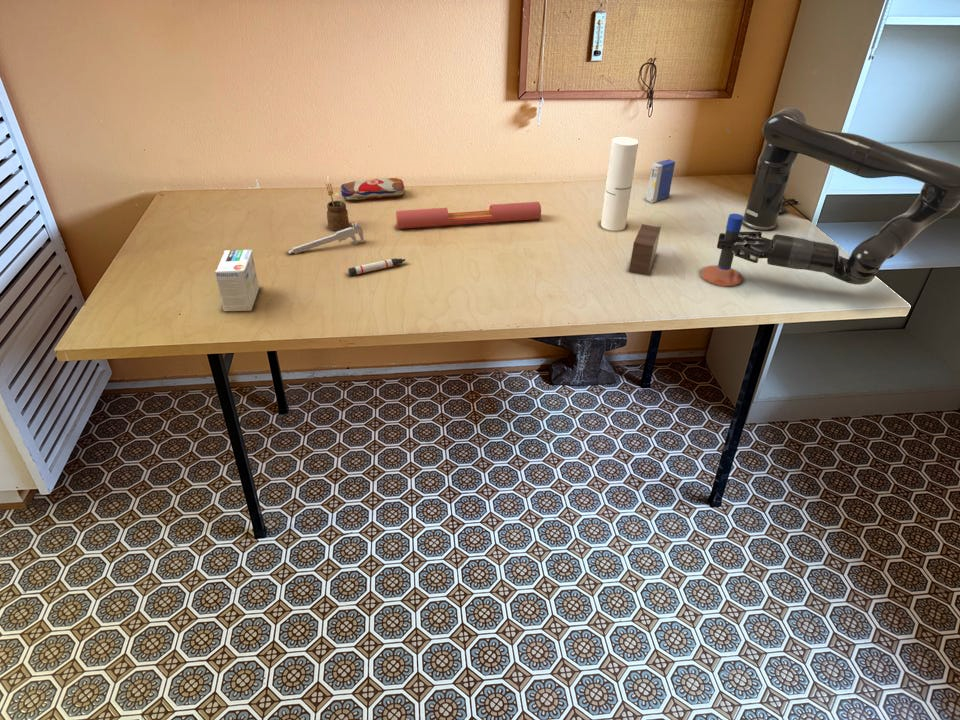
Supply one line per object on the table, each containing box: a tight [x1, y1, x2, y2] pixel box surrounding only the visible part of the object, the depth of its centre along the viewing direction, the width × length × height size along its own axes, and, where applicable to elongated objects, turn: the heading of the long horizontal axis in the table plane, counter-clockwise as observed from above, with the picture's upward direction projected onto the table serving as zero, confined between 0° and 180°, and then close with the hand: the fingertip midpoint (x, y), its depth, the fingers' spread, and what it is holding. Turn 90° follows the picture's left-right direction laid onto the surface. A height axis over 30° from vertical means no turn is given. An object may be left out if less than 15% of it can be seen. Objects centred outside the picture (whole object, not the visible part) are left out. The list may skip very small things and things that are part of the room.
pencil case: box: [339, 177, 406, 201], centre depth 218 cm, size 11×20×5 cm, turn 89°
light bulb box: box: [214, 249, 260, 312], centre depth 165 cm, size 11×7×11 cm, turn 5°
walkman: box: [645, 158, 676, 204], centre depth 219 cm, size 8×3×12 cm, turn 127°
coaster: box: [701, 265, 743, 287], centre depth 182 cm, size 10×10×1 cm
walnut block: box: [628, 223, 662, 276], centre depth 185 cm, size 12×5×8 cm, turn 159°
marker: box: [347, 257, 406, 276], centre depth 181 cm, size 15×2×2 cm, turn 117°
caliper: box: [287, 221, 365, 255], centre depth 189 cm, size 20×1×6 cm, turn 112°
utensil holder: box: [325, 182, 350, 232], centre depth 198 cm, size 6×6×12 cm
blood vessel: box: [395, 201, 542, 230], centre depth 204 cm, size 42×5×5 cm, turn 101°
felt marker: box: [717, 213, 744, 270], centre depth 176 cm, size 3×12×12 cm
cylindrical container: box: [600, 136, 639, 232], centre depth 199 cm, size 7×7×25 cm
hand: (718, 240), depth 177 cm, fingers closed on felt marker, 3 cm apart
